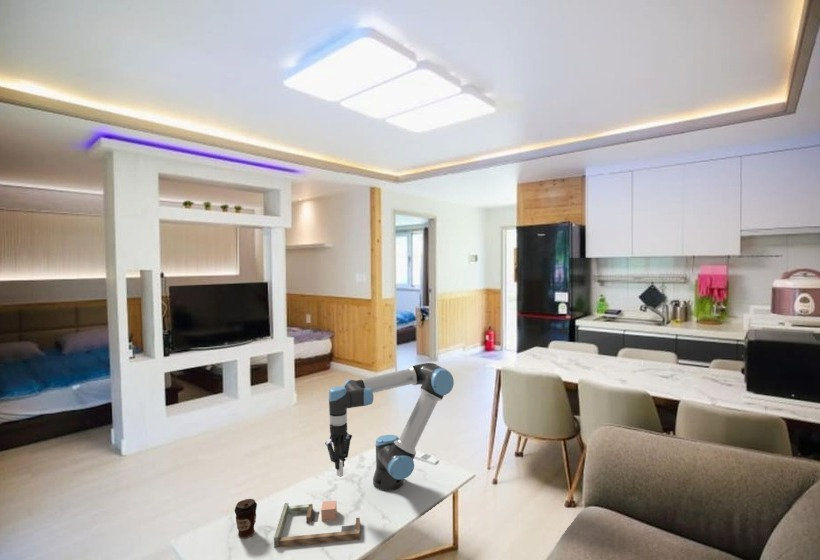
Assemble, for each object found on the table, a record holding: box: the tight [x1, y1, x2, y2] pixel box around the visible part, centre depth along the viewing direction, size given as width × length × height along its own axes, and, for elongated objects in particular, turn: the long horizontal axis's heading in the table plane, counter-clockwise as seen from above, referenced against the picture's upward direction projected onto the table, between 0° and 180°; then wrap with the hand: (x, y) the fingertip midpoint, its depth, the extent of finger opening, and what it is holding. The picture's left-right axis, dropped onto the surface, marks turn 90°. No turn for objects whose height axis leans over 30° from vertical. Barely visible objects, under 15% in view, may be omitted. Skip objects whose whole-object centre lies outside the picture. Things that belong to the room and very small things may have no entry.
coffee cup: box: [234, 498, 258, 539], centre depth 167 cm, size 9×8×13 cm
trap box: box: [273, 502, 361, 548], centre depth 173 cm, size 33×23×4 cm
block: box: [320, 500, 338, 522], centre depth 178 cm, size 6×6×5 cm
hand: (339, 475), depth 181 cm, fingers closed
